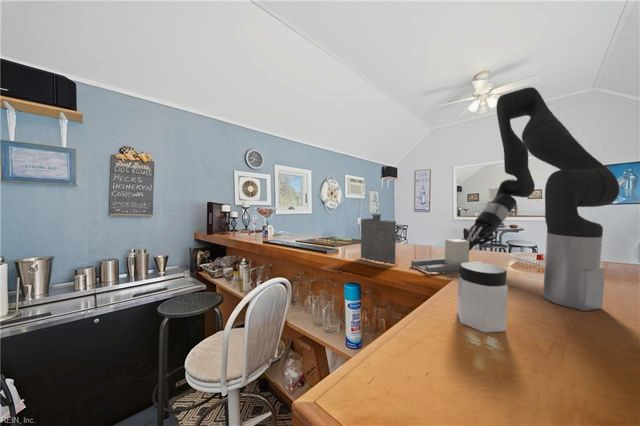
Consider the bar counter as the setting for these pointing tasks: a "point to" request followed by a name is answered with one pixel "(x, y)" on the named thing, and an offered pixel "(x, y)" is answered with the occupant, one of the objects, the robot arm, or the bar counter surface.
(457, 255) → the block
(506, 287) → the jar
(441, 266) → the chute
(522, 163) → the robot arm
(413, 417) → the bar counter surface
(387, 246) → the hip flask
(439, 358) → the bar counter surface
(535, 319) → the bar counter surface
